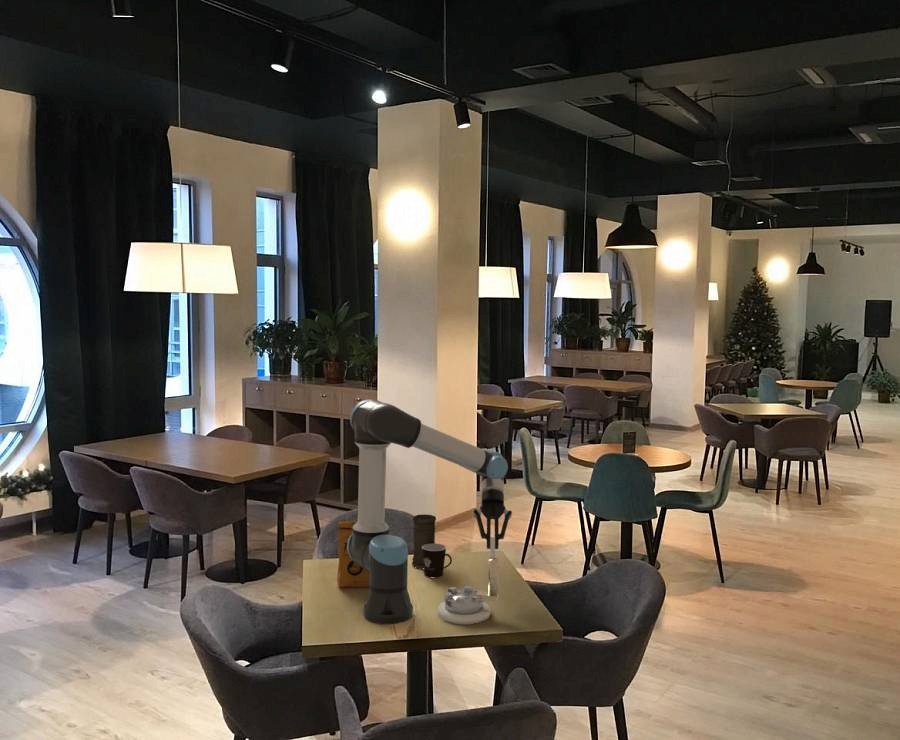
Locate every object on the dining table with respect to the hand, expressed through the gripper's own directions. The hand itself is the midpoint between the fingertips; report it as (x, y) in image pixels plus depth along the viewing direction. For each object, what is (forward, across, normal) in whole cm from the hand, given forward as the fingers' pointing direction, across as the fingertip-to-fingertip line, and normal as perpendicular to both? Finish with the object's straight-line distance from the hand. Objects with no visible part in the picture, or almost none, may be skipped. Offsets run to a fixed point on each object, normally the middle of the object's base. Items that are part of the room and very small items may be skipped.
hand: (492, 557), depth 262 cm
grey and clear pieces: (+16, +7, -2) cm, 18 cm away
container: (-15, +24, -36) cm, 46 cm away
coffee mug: (-7, +19, -28) cm, 35 cm away
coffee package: (+1, +46, -21) cm, 51 cm away
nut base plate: (+18, +9, -4) cm, 20 cm away
